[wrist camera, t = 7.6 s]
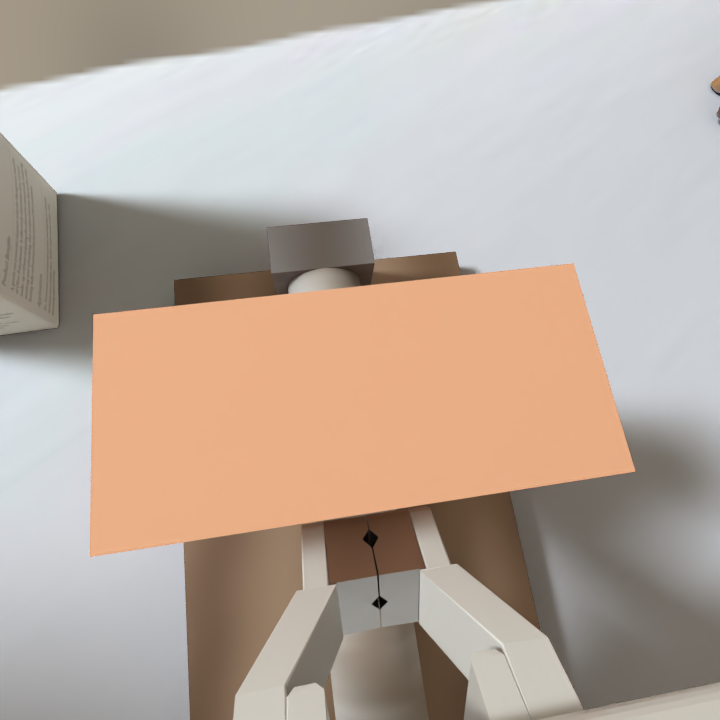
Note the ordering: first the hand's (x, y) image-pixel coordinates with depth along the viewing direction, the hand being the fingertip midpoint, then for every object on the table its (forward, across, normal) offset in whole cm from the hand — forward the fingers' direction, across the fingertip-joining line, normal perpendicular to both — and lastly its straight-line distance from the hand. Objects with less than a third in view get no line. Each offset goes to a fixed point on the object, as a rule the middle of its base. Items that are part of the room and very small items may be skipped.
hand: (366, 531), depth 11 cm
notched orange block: (+8, 0, +4) cm, 9 cm away
